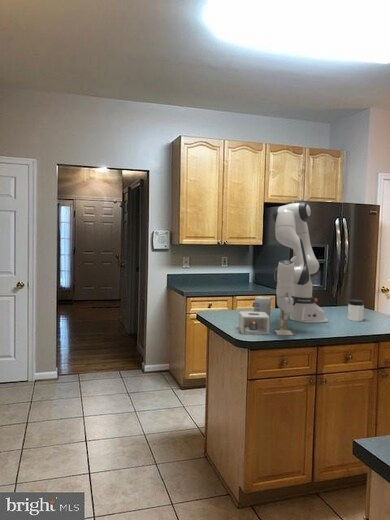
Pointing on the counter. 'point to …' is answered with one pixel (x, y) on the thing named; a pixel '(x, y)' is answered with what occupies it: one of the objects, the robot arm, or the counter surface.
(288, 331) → the tile
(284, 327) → the rectangular block
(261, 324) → the box
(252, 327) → the orange ball
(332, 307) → the counter surface
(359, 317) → the jar
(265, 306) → the supplement tub
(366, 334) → the counter surface
